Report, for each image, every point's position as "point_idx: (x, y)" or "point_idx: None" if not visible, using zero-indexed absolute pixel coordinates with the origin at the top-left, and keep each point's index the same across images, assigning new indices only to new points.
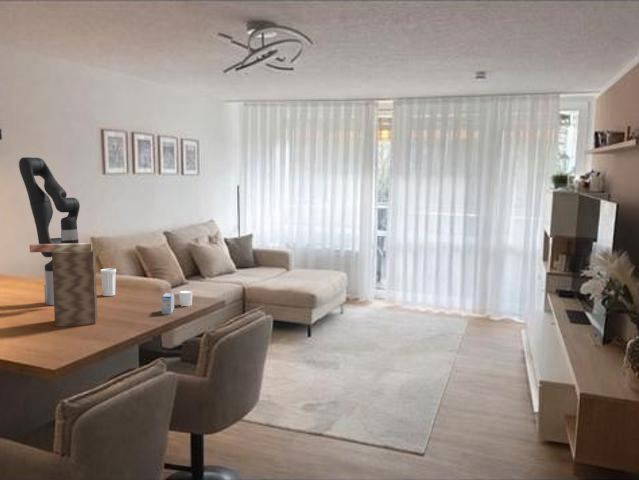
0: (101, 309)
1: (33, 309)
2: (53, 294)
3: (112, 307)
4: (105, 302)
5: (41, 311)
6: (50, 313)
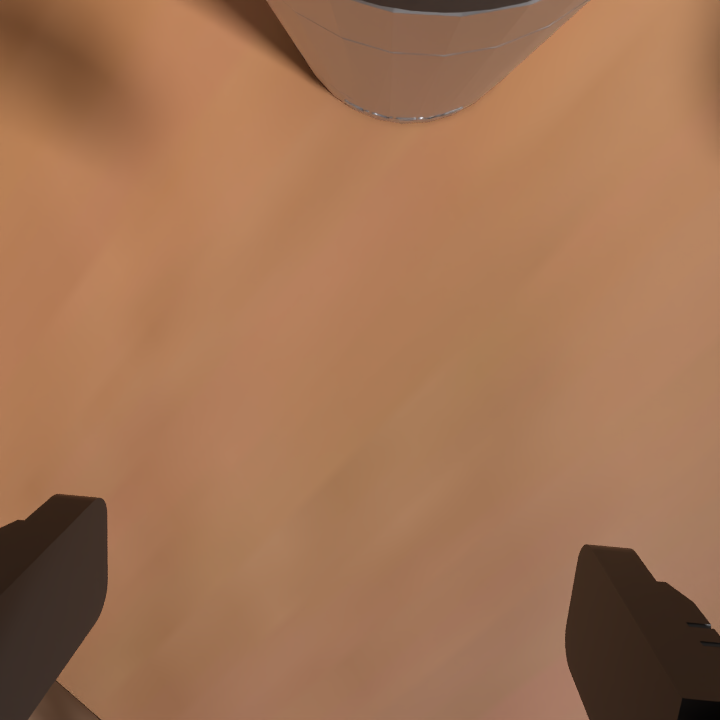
0: (421, 649)
1: (62, 8)
2: (292, 40)
3: (529, 682)
4: (687, 483)
5: (58, 184)
6: (60, 344)
